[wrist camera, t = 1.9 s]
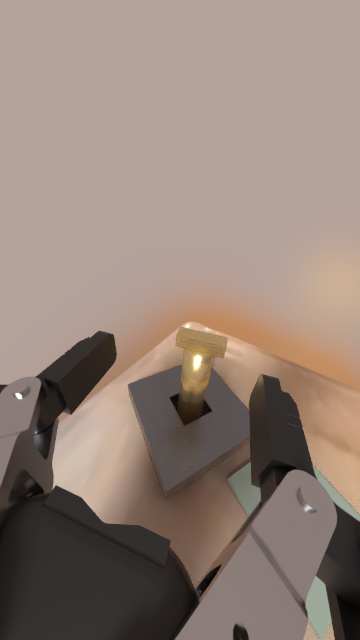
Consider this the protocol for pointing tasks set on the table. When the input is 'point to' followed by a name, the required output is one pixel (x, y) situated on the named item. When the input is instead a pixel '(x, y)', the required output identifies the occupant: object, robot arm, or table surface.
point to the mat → (317, 593)
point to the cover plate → (187, 428)
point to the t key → (196, 369)
